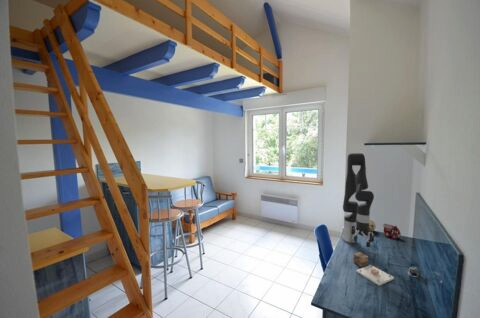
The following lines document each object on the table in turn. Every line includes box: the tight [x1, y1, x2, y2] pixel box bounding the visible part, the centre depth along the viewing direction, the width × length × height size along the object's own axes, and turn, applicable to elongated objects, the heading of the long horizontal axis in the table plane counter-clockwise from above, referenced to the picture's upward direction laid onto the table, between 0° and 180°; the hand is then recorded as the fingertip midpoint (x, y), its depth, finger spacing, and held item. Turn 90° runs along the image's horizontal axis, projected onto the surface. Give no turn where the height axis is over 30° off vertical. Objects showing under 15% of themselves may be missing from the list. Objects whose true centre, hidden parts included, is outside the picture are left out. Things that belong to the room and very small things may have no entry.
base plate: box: [356, 264, 395, 287], centre depth 129 cm, size 14×14×3 cm
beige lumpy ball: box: [369, 218, 376, 233], centre depth 194 cm, size 10×12×11 cm
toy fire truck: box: [382, 223, 402, 240], centre depth 182 cm, size 7×12×10 cm, turn 47°
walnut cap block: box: [353, 251, 369, 268], centre depth 141 cm, size 6×6×6 cm
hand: (361, 244), depth 140 cm, fingers open, 8 cm apart
